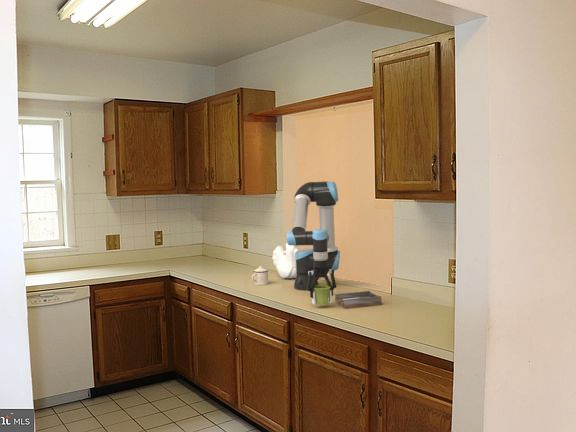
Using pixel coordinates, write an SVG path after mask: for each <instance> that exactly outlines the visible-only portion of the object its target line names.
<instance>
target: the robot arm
mask: <svg viewBox="0 0 576 432" xmlns="http://www.w3.org/2000/svg"><path fill="white" fill-rule="evenodd" d="M293 202H294V211H293V219H292V226H291V230H290V231H287V233H286V243H287V244H288V245H293V246H296V247H298V246H299V247H300V246H312V248H305V249H301V250H299V251H298V252H297V253H296V273H297V275H296V278H294V279H295V280H294V283H293V288H294V289H295V290H297V291H298V290H299V291H308V292H309V297H310V298H311V304H312V305H316V301H315V292H314V288H315V286H316V285H320V284H319V279H320V278H321V279H322V278H324V280H325V282H326V285H328V286H329V287H331V288H330V290H329V296H328V303H330V304H332V300H333V299H332V296H334V289H337V283H336V278H335V271H337V270H338V269H339V266H340V260H341V258H340V257H341V251H340V250H338V247H337V246H336V239H335V238H336V237H335V236H336V235H335V214H334V213H335V211H334V208H335V206H336V205H337V202H339V194H338V187H337V184H336V182H335V181H308V182H306V183H303V184H302V185H301V186H300V187H299V188H298V189H297V190H296V192H295V194H294V197H293ZM311 203H315V205H316V207H318V212H319V214H318V215H319V219H318V220H319V228H315V229H312V231H311V230H309V231H308V230H307V221H308V215H309V214H308V213H309V205H310V204H311ZM306 230H307V231H306ZM328 273H329V276H330V279H329V276H328ZM330 280H331V281H330Z"/></svg>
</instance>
